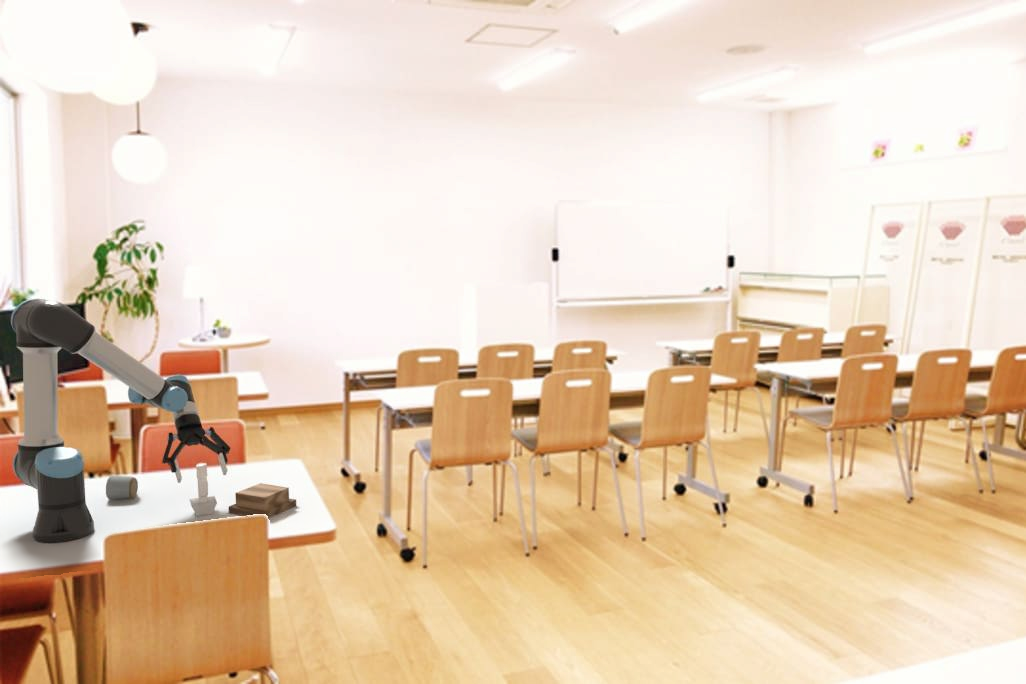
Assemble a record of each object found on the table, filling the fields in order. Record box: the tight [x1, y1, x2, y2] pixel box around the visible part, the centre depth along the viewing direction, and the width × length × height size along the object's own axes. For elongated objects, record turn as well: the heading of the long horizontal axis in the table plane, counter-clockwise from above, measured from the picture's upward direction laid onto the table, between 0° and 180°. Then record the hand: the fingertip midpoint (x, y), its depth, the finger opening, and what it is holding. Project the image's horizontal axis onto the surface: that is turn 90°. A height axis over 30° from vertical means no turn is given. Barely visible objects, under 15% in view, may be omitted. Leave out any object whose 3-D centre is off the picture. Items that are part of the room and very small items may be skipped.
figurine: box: [189, 462, 218, 517], centre depth 256 cm, size 7×9×15 cm
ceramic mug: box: [105, 475, 139, 500], centre depth 272 cm, size 10×8×7 cm
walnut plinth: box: [228, 482, 297, 519], centre depth 260 cm, size 14×14×6 cm
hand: (203, 476), depth 261 cm, fingers open, 13 cm apart
